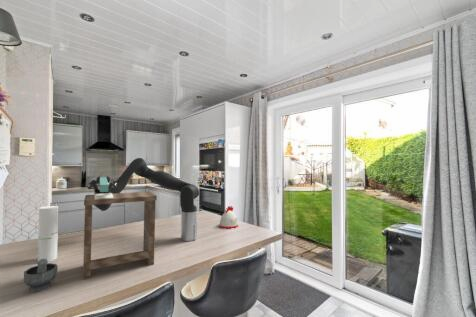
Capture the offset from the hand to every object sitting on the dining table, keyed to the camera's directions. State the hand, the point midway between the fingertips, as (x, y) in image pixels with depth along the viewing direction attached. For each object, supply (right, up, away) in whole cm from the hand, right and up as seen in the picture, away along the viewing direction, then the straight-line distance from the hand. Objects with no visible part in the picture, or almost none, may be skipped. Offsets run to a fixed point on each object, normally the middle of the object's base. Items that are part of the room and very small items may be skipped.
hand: (103, 178), depth 112 cm
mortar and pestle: (-8, -39, -27) cm, 48 cm away
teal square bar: (+4, -4, -6) cm, 8 cm away
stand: (+12, -39, -7) cm, 42 cm away
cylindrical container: (-25, -39, -3) cm, 47 cm away
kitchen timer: (+59, -41, +58) cm, 93 cm away
